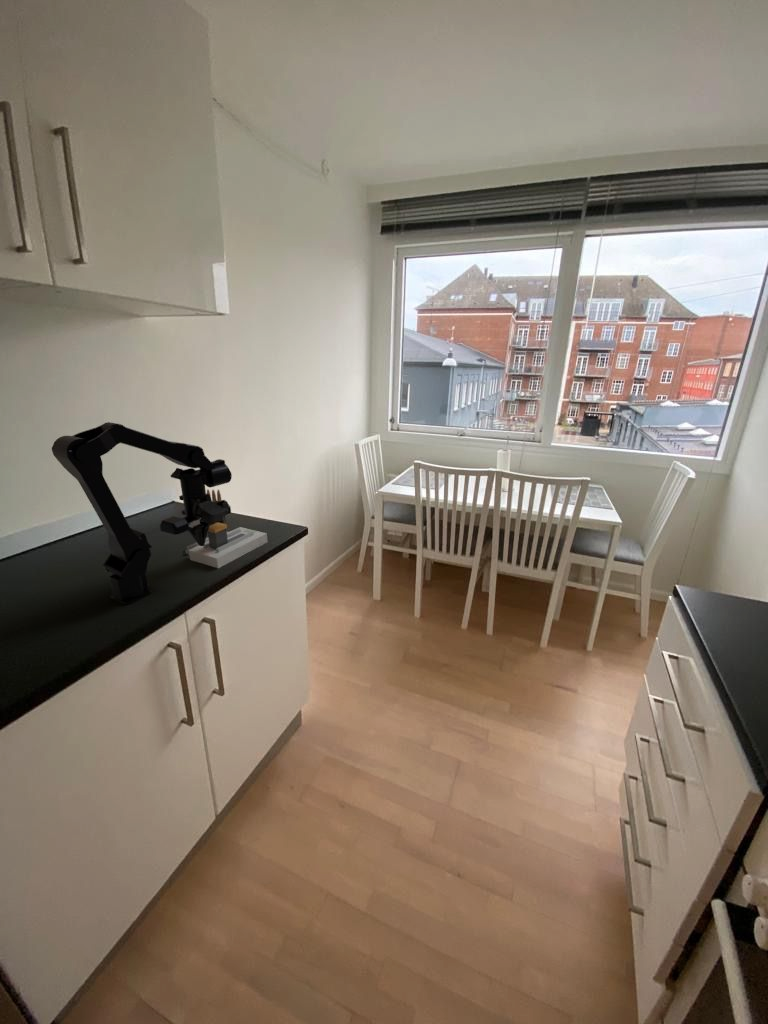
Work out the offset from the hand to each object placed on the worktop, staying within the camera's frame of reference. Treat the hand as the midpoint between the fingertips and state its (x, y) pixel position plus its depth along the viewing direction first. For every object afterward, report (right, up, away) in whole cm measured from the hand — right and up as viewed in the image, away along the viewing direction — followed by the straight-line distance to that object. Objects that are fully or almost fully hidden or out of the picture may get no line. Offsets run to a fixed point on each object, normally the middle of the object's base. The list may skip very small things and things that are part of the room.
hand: (201, 545), depth 115 cm
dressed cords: (-4, -1, +14) cm, 14 cm away
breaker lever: (+3, 0, +6) cm, 6 cm away
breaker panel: (+4, -2, +10) cm, 11 cm away
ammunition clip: (-11, +6, +32) cm, 34 cm away
